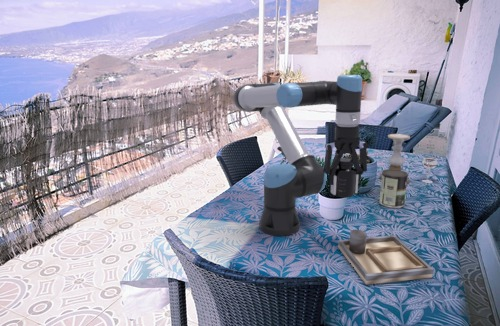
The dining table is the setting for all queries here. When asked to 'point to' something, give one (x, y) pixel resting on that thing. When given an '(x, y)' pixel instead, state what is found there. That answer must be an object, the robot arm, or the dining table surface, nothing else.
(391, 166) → the candle holder
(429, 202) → the dining table surface
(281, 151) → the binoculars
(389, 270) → the board
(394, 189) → the coffee can
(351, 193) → the supplement bottle
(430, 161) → the wineglass
